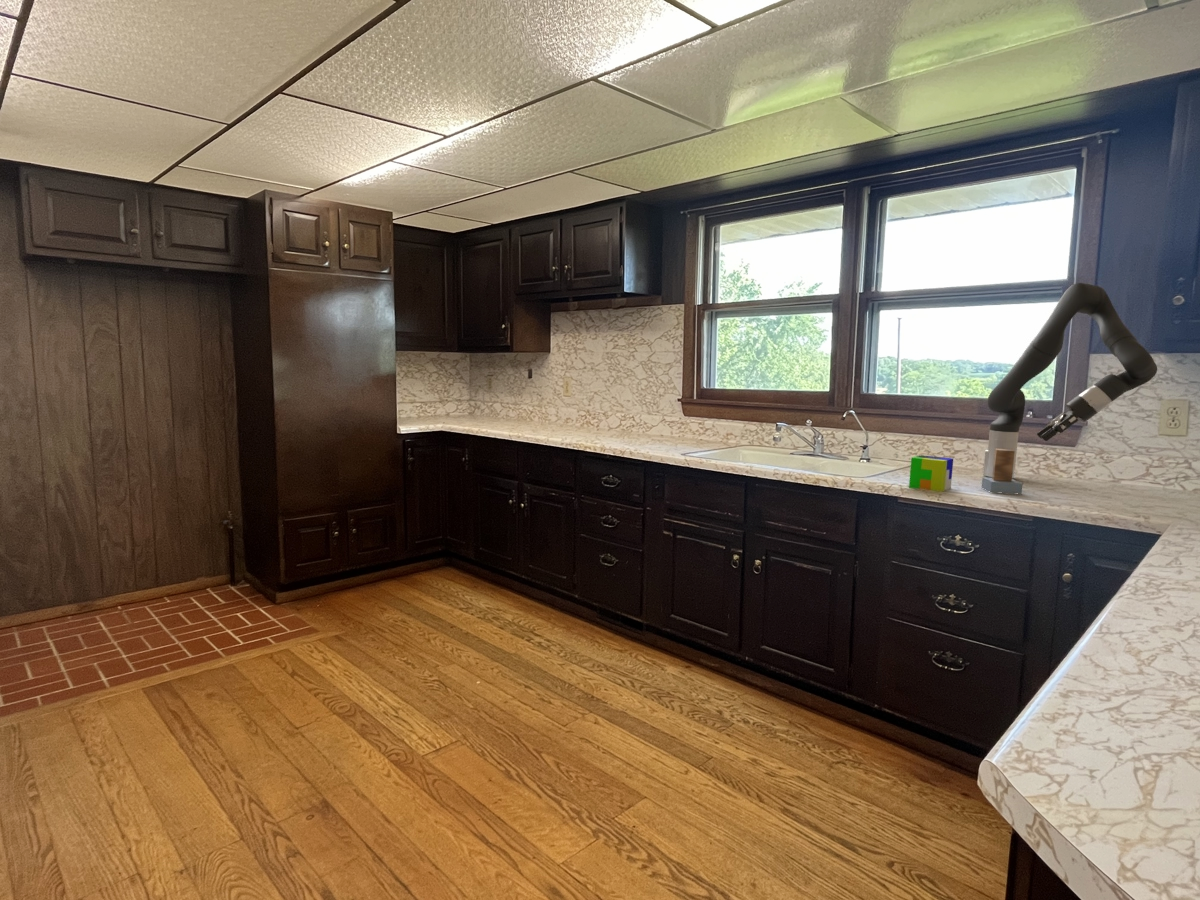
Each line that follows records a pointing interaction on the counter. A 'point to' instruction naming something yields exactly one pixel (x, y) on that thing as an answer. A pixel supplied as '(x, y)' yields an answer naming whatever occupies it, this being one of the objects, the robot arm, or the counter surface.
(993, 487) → the slate plinth
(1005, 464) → the walnut block
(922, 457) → the puzzle toy
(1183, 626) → the counter surface
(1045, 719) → the counter surface
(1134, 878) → the counter surface
